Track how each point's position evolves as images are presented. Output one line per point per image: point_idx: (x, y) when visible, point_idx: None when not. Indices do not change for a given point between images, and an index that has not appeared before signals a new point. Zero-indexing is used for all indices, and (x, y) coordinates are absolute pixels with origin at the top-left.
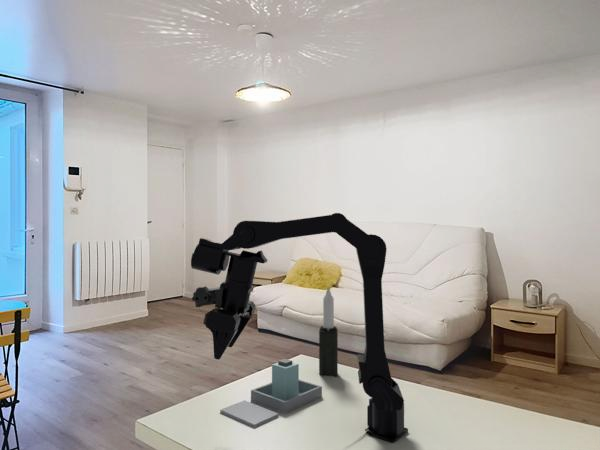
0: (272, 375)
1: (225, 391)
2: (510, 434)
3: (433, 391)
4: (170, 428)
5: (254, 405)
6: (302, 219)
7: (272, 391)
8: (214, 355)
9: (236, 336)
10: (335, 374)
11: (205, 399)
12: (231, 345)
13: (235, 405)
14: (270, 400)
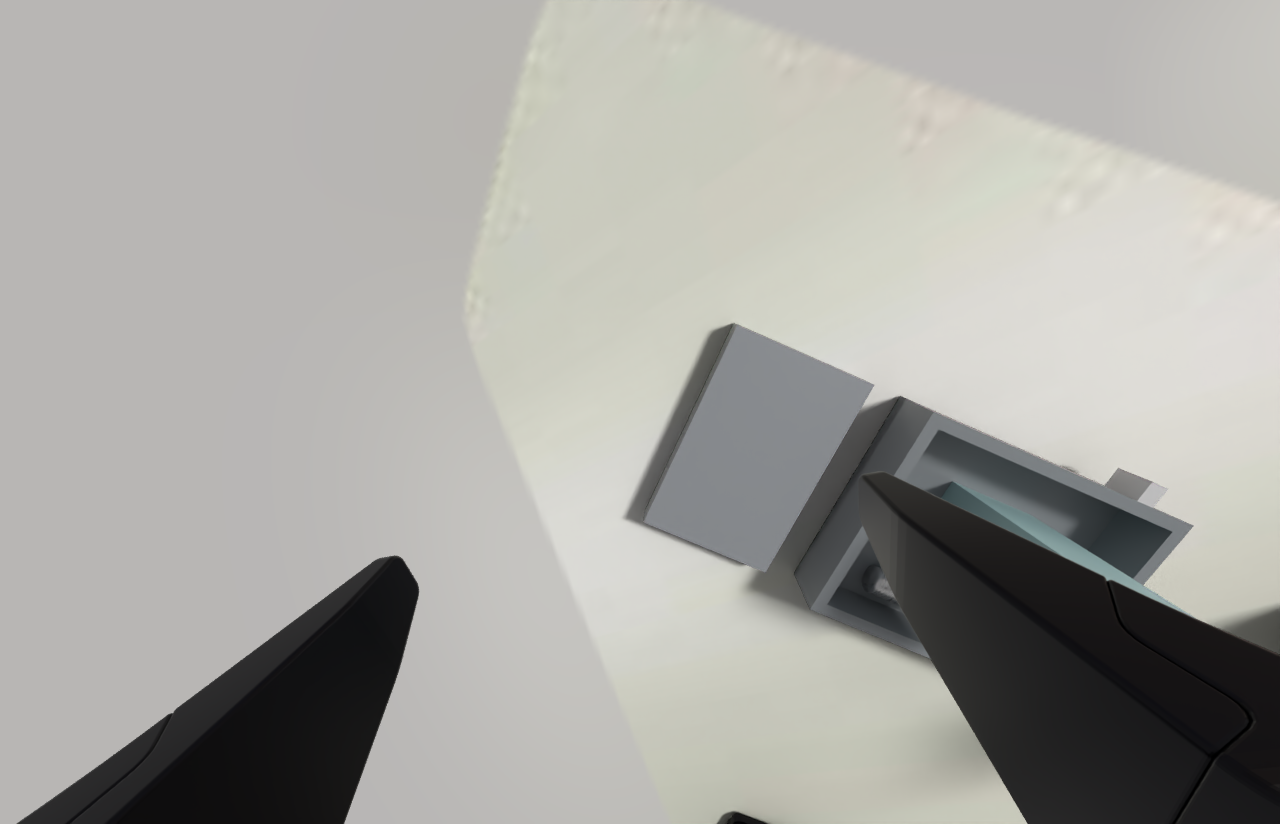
0: (1032, 540)
1: (1042, 190)
2: None
3: None
4: (546, 175)
5: (824, 453)
6: None
7: (970, 498)
8: (351, 582)
9: (942, 664)
10: None
11: (903, 139)
12: (865, 530)
13: (803, 370)
14: (849, 528)
